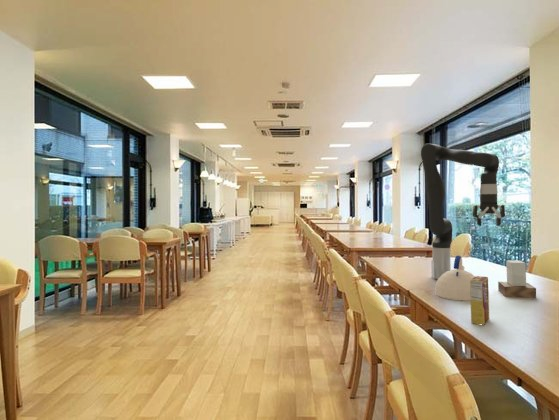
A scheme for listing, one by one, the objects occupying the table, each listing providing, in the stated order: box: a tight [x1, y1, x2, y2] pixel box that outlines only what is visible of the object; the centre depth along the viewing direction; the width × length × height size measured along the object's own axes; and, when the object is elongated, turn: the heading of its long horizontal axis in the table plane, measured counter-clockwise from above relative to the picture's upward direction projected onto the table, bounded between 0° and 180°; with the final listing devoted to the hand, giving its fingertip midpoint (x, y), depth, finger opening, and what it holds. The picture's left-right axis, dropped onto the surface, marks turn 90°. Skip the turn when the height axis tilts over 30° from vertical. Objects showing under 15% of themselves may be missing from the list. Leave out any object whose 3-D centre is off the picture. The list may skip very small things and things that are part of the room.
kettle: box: [434, 255, 476, 302], centre depth 173 cm, size 20×21×18 cm
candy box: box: [470, 275, 490, 326], centre depth 134 cm, size 9×4×15 cm, turn 140°
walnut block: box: [497, 281, 537, 299], centre depth 173 cm, size 12×12×5 cm
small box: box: [505, 259, 527, 286], centre depth 173 cm, size 8×6×10 cm
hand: (488, 225), depth 191 cm, fingers open, 8 cm apart
